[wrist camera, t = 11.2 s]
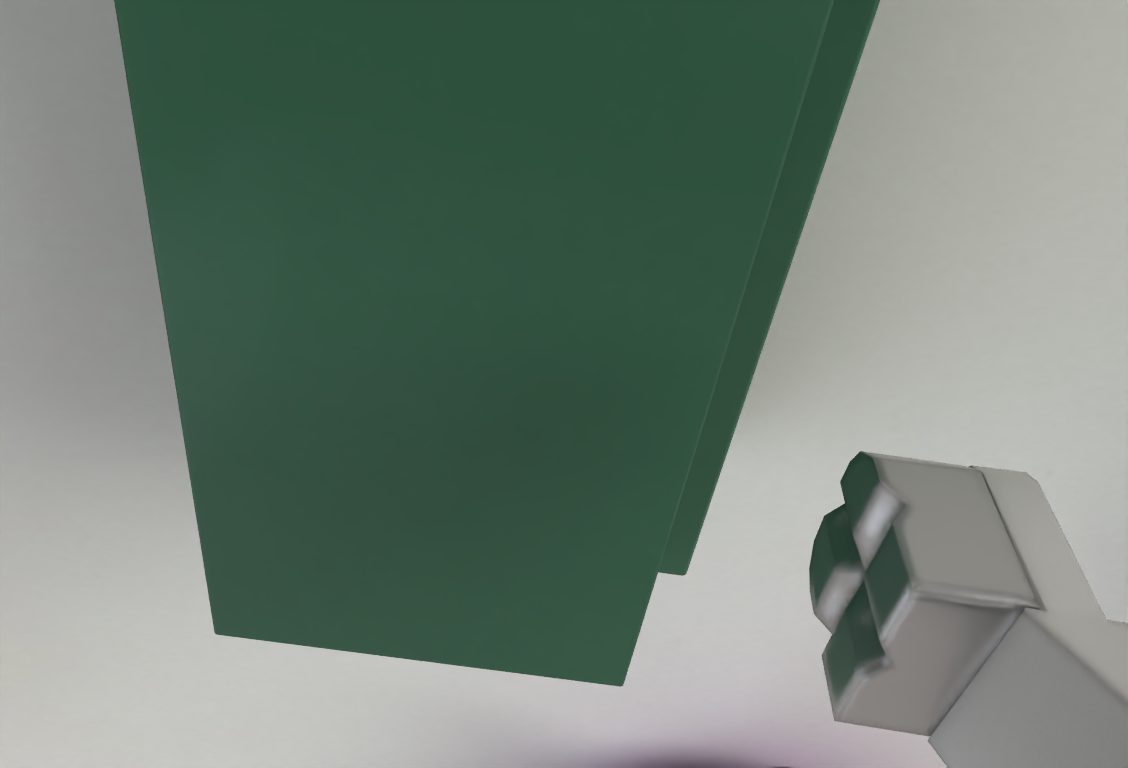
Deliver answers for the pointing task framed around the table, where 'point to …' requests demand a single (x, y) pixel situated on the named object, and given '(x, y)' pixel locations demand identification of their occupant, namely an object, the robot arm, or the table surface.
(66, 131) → the table surface
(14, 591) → the table surface
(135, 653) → the table surface
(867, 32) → the green stack
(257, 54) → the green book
